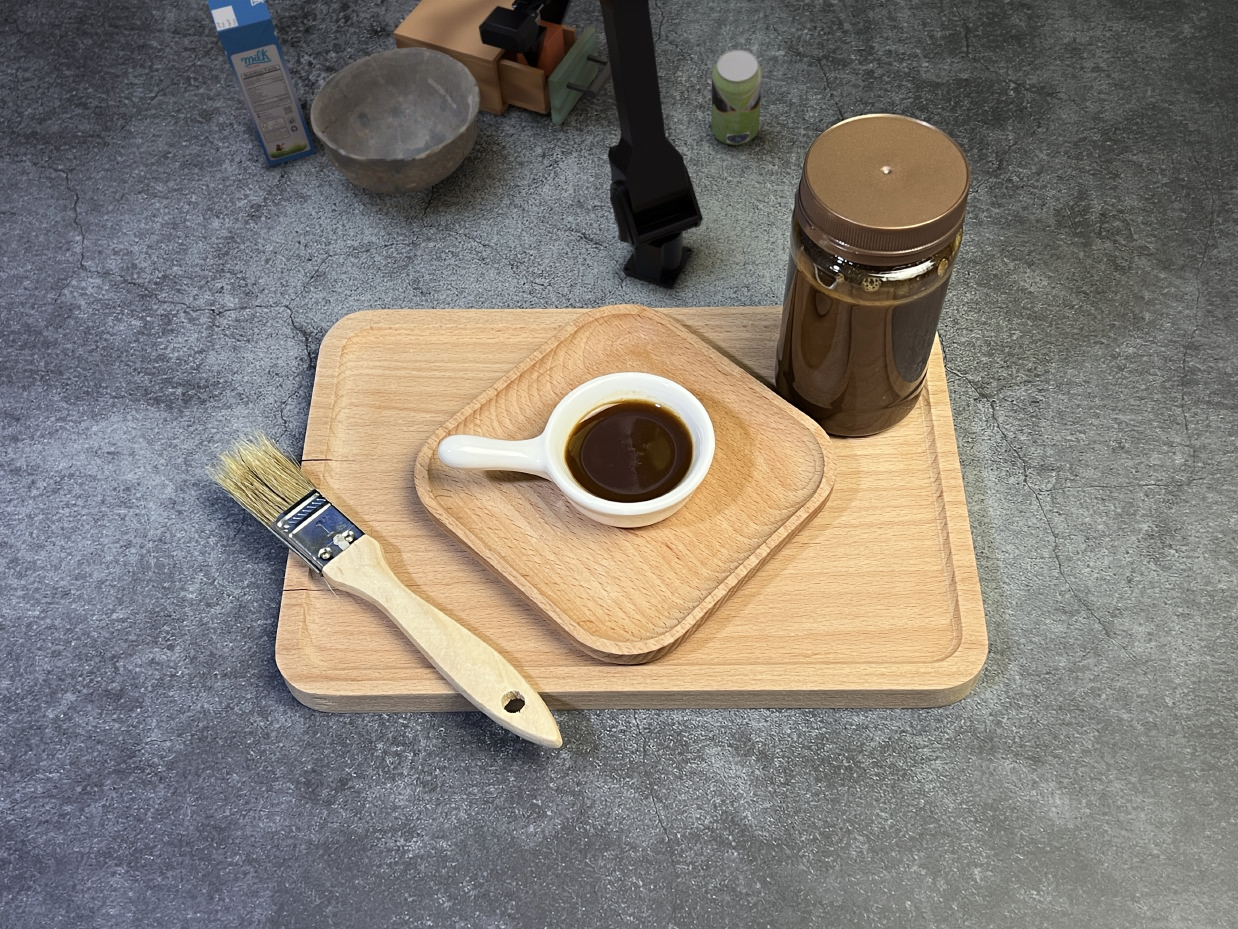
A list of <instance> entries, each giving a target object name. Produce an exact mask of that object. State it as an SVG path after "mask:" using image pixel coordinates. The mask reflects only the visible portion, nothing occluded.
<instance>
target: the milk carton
mask: <svg viewBox="0 0 1238 929" xmlns="http://www.w3.org/2000/svg"><path fill="white" fill-rule="evenodd" d="M206 1H207V4H208V8H209V12H210V15H211V17H212V21H213V25H214V26H215V30H216V33H217V36H218V38H219V41H220V43H221V46H222V48H223V50H224V53H225V56H226V59H227V61H228V64H229V66H230V69H231V71H232V74H233V77H234V80H235V82H236V84H237V88H238V90H239V92H240V95H241V97H242V100H243V102H244V105H245V108H246V110H247V113H248V116H249V118H250V121H251V123H252V125H253V128H254V131H255V133H256V136H257V140H258V141H259V143H260V146H261V149H262V152H263V155H264V156H265V159H266V162H267V165H268V167H269V168H270V167H273V166H278V165H281V164H284V163H287V162H292V161H295V160H298V159H302V158H306V157H309V156H313V155H317V150H316V148H315V145H314V142H313V139H312V136H311V132H310V129H309V126H308V124H307V120H306V118H305V115H304V111H303V109H302V106H301V103H300V100H299V97H298V94H297V90H296V87H295V84H294V82H293V79H292V76H291V73H290V70H289V66H288V64H287V61H286V58H285V55H284V52H283V49H282V46H281V43H280V40H279V38H278V34H277V31H276V28H275V25H274V22H273V19H272V17H271V14H270V11H269V9H268V6H267V3H266V0H206Z"/></svg>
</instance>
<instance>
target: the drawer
mask: <svg viewBox="0 0 1238 929" xmlns="http://www.w3.org/2000/svg"><path fill="white" fill-rule="evenodd" d="M539 19H540V18H539ZM540 20H541V19H540ZM562 29H563V41H564V53H565V56H564V57H563V58H562V60H561V61H560V62H559V64H558V65H557V66H556V68H555V69H554V70H553V72H552V73H551V74H550V76H548V75H544V71H543V70H540V69H536V68H533V67H529V66H526V65H522V64H519V63H518V58H517V53H514V52H511V51H507V50H505V52H504V53H503V54H502V55H501V57H500V58H499V59H498V60H497V62H496V65H497V72H498V79H499V86H500V93H501V100H502V102H506V103H509V105H513V106H516V107H519V108H523V109H527V110H529V111H534V112H536V113H540V114H543V115H547V113H549V110H550V112H551V113H550V114H551V122H552V123H553V124H557V125H562V123H563V122H564V121H565V119H566V118H567V116H568V115H569V113H570V112H572V109H573V108H574V106H576V103H578V101H579V100H580V98H581V97H582V96H583V94H584V95H586V96H587V98H588V99H590V100H596V99H597V98H598V97H599V95H600V94H601V92H602V91H603V89H605V86H606V85H607V84H608V82H609V81H610V80H611V79H612V74H611V68H610V61H609V58H606V57H605V58H604V57H602V56H598V43H597V42H598V40H597V28H596V27H594V26H593V27H592V26H590V25H589V26H586V28H585V29H584V31H583V32H582V33H581V34H580V36H579V37H578V34H577V32H578V31H577V28H576V27H574V26H570V25H566V24H564V23H563V24H562ZM599 65H603V67H602V69H601V70H600V71H599Z"/></svg>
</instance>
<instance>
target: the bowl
mask: <svg viewBox="0 0 1238 929" xmlns="http://www.w3.org/2000/svg"><path fill="white" fill-rule="evenodd" d="M480 103H481V96H480V90H479V88H478V83H477V81H476V79H475V78H474V76H473V75H472V74H471V73H470V71H469V70H468V68H467V67H466V66H464V65H463V64H462V63H460V62H459V61H457V60H455V59H453V58H452V57H450V56H449V55H447V54H444V53H441V52H438V51H434V50H430V49H427V48H417V47H415V48H400V49H397V48H393V49H388V50H382V51H381V52H375V53H371V54H370V55H369V56H368V55H366V56H363V57H361V58H359V59H357V60H355V61H353V62H351V63H349V64H348V65H346V66H343V68H341V69H339V70H338V71H336V72H334V73H333V74H331V75H330V76H329V77H328V78H327V79H326V80H324V82H323V83H322V85H321V86H320V87H319V90H318V91H317V93H316V95H315V96H314V98H313V102H312V104H311V107H310V122H311V129H312V130H313V132H314V134H315V135H316V137H317V138H318V140H319V141H320V142H321V144H322V145H323V147H324V150H325V152H326V155H327V157H328V161H329V162H330V164H331V165H332V166H333V167H334V168H335V169H336V171H338V172H339V173H340V174H341V175H342V176H343V177H344V178H346V179H347V180H348V181H350V183H351V184H353V185H354V186H355V187H359V188H362V189H365V190H368V191H372V192H376V193H379V194H385V195H393V196H395V195H397V196H402V195H404V196H405V195H408V194H414V193H417V192H421V191H424V190H426V189H429V188H431V187H433V186H435V185H436V184H438V183H440V182H442V181H443V180H444V179H446V178H447V177H449V176H450V175H451V174H452V173H454V171H456V170H457V169H458V168H459V166H461V164H462V163H463V162H464V160H465V159H466V158H467V157H468V156H469V154H470V153H471V151H472V150H473V147H474V145H475V142H476V140H477V136H478V129H479V123H478V121H477V118H478V115H479V112H480Z"/></svg>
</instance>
